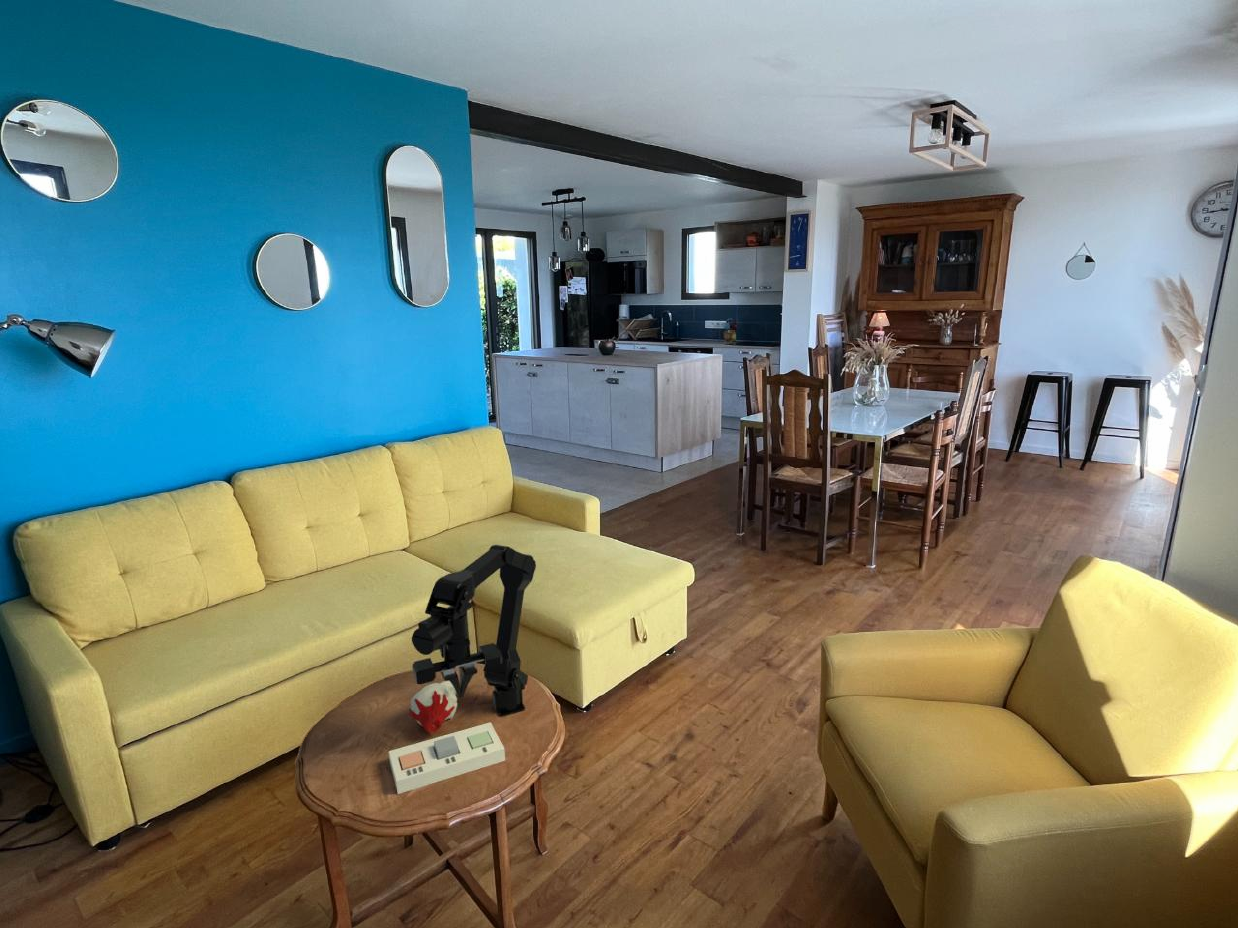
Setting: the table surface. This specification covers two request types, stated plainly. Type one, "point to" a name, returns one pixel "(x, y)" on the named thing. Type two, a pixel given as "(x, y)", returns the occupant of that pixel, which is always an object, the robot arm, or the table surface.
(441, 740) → the slate tile
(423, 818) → the table surface
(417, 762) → the terracotta tile
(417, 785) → the button board
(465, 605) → the robot arm
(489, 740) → the sage tile
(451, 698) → the red irregular piece
